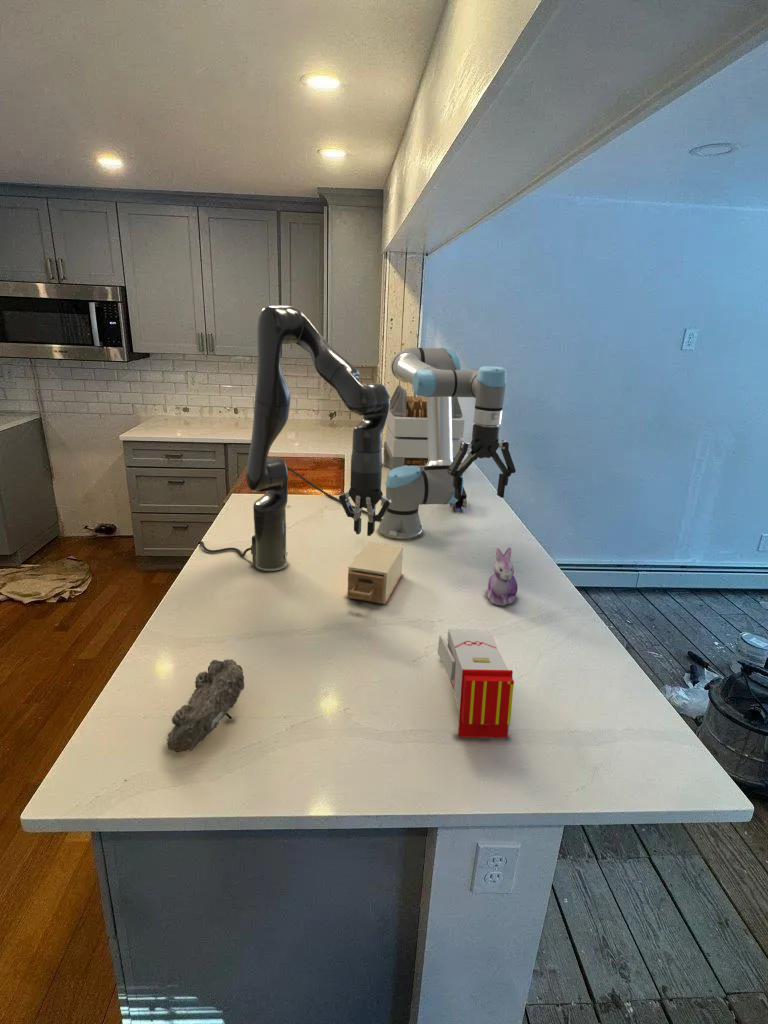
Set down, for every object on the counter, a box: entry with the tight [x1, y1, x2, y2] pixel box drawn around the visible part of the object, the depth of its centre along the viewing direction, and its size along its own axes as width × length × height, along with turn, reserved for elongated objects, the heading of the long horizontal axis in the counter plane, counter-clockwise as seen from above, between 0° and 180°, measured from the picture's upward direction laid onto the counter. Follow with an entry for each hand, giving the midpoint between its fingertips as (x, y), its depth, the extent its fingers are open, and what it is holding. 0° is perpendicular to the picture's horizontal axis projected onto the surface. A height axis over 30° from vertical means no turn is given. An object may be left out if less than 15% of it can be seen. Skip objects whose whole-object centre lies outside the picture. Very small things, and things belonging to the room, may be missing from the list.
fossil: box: [166, 658, 245, 754], centre depth 106 cm, size 22×10×15 cm
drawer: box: [347, 571, 384, 604], centre depth 156 cm, size 23×10×7 cm, turn 165°
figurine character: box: [449, 486, 468, 512], centre depth 228 cm, size 7×8×15 cm
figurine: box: [486, 546, 518, 606], centre depth 155 cm, size 9×10×15 cm
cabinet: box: [347, 541, 404, 605], centre depth 160 cm, size 18×11×9 cm, turn 165°
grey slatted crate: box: [382, 384, 465, 471], centre depth 268 cm, size 34×33×41 cm
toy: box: [437, 628, 515, 738], centre depth 117 cm, size 12×13×30 cm
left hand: (364, 533), depth 143 cm, fingers closed
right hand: (479, 497), depth 164 cm, fingers open, 13 cm apart
